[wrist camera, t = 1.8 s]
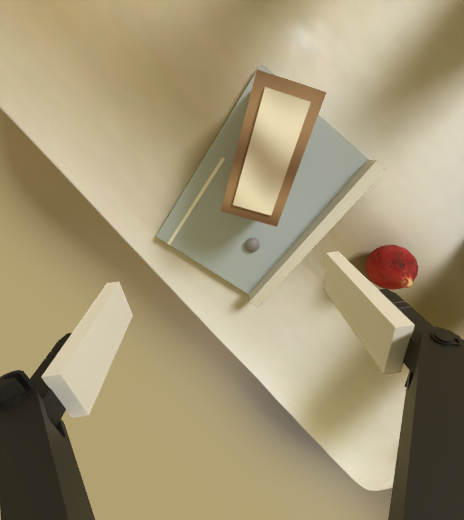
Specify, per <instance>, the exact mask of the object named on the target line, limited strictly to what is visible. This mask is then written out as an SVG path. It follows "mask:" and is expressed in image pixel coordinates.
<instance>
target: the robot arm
mask: <svg viewBox="0 0 464 520" xmlns="http://www.w3.org/2000/svg"><path fill="white" fill-rule="evenodd" d="M324 290H325V291H326V293H327V294H328V296H329V297H330V298H331V300H332V301H333V303H334V304H335V306H336V307H337V309H338V310H339V311H340V313H341V314H342V316H343V317H344V319H345V320H346V321H347V323H348V324H349V326H350V327H351V329H352V330H353V331H354V333H355V334H356V336H357V337H358V339H359V340H360V341H361V343H362V344H363V346H364V347H365V349H366V350H367V352H368V353H369V354H370V356H371V357H372V359H373V360H374V362H375V363H376V364H377V366H378V367H379V369H380V370H381V372H382V373H383V374H390V373H397V372H401V369H402V366H403V362H404V364H405V365H406V366H407V367H408V368H409V370H410V371H409V375H408V378H407V381H406V384H405V387H407V388H406V395H405V403H404V410H403V417H402V424H401V432H400V439H399V446H398V453H397V461H396V468H395V475H394V482H393V489H392V497H391V504H390V511H389V519H388V520H464V340H462V339H461V338H460V337H459V336H458V335H456V334H454V333H453V332H451V331H448V330H446V329H443V328H437V327H433V326H432V325H431V324H430V323H429V322H427V321H426V320H425V319H424V318H423V317H422V316H421V315H420V314H418V313H417V312H416V311H415V310H414V309H413V308H412V307H411V308H410V306H409V305H408V304H407V303H406V302H404V300H403V299H402V298H400V297H399V296H398V295H397V294H396V293H394V292H392V291H390V290H388V289H380V290H378V289H377V288H376V287H375V286H374V285H373V284H372V283H371V282H370V281H369V280H368V279H367V278H366V277H365V276H363V275H362V274H361V273H360V272H359V271H358V270H357V269H356V268H355V267H354V266H353V265H352V264H351V263H350V262H349V261H348V260H347V259H346V258H345V257H344V256H343V255H342V254H341V253H340V252H339V251H336V252H329V253H326V264H325V279H324ZM132 316H133V315H132V312H131V310H130V308H129V305H128V302H127V300H126V297H125V295H124V293H123V290H122V288H121V285H120V283H119V282H113V283H107V284H106V285H105V287H104V288H103V290H102V291H101V293H100V294H99V295H98V297H97V298H96V300H95V301H94V303H93V304H92V306H91V307H90V308H89V310H88V311H87V313H86V314H85V315H84V317H83V318H82V320H81V321H80V322H79V324H78V325H77V327H76V328H75V330H74V331H73V333H68V334H66V335H65V336H64V337H63V338H61V339H60V340H59V341H58V342H57V343H56V345H55V346H54V347H53V349H52V351H51V352H50V353H49V354H48V356H47V357H46V359H44V361H43V362H42V364H41V365H40V366H39V368H38V369H37V370H36V372H35V373H34V374H33V376H32V377H31V378H30V379H29V378H28V376H27V375H26V374H25V373H24V371H20V370H17V371H13V372H10V373H7V374H5V375H3V376H1V377H0V510H1V520H95V518H94V515H93V512H92V508H91V505H90V503H89V500H88V496H87V493H86V490H85V487H84V484H83V480H82V477H81V474H80V471H79V468H78V465H77V462H76V459H75V456H74V453H73V449H72V446H71V443H70V440H69V437H68V434H67V430H66V427H65V424H64V422H63V421H62V420H61V418H62V416H63V414H64V412H65V410H66V411H67V412H68V414H69V415H70V416H71V418H73V417H81V416H88V415H89V414H90V411H91V409H92V407H93V405H94V402H95V400H96V398H97V395H98V393H99V391H100V389H101V386H102V384H103V382H104V380H105V377H106V375H107V373H108V371H109V368H110V366H111V364H112V361H113V359H114V357H115V354H116V352H117V350H118V348H119V346H120V343H121V341H122V339H123V336H124V334H125V332H126V330H127V327H128V325H129V323H130V320H131V318H132Z"/></svg>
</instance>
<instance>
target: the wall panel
mask: <svg viewBox="0 0 464 520" xmlns="http://www.w3.org/2000/svg"><path fill="white" fill-rule="evenodd" d="M257 70H260V71H263V72H266V73H269V74H272V75H274V74H273V73H272V72H271V71H269V70H268V69H267V68H266V67H265V66H264V65H263V64H262V63H261V65H260V66H259V68H258V69H257ZM255 75H256V73H255V74H254V76H253V78H252V79H251V81H250V83H249V84H248V86H247V88H246V89H245V91H244V93H243V94H242V96H241V98H240V99H239V101H238V102H237V104H236V106H235V107H234V109H233V111H232V112H231V114H230V116H229V117H228V119H227V121H226V122H225V124H224V126H223V127H222V129H221V130H220V132H219V134H218V135H217V137H216V139H215V140H214V142H213V144H212V145H211V147H210V149H209V150H208V152H207V154H206V155H205V157H204V159H203V160H202V162H201V163H200V165H199V167H198V168H197V170H196V172H195V173H194V175H193V177H192V178H191V180H190V182H189V183H188V185H187V187H186V188H185V190H184V192H183V193H182V195H181V196H180V198H179V200H178V201H177V203H176V205H175V206H174V208H173V210H172V211H171V213H170V215H169V216H168V218H167V220H166V221H165V223H164V224H163V226H162V228H161V229H160V231H159V233H158V234H157V236H156V237H158V238H159V239H161V240H162V241H164V242H166V243H167V244H168V245H170V246H172V247H174V248H175V249H177V250H178V251H180V252H182V253H183V254H185V255H186V256H188V257H190V258H191V259H193V260H194V261H196V262H198V263H199V264H201V265H202V266H204V267H206V268H207V269H209V270H210V271H212V272H214V273H215V274H217V275H218V276H220V277H222V278H223V279H225V280H226V281H228V282H230V283H231V284H233V285H234V286H236V287H238V288H239V289H241V290H242V291H244V292H246V293H247V294H249V302H250V303H252V304H253V305H255V306H257V307H259V305H260V304H261V303H262V302H263V301H264V300H265V299H266V298H267V297H268V296H269V295H270V294H271V293H272V292H273V290H274V289H275V288H276V287H277V286H278V285H279V284H280V283H281V282H282V281H283V280H284V279H285V278H286V276H287V275H288V274H289V273H290V272H291V271H292V270H293V269H294V268H295V267H296V266H297V265H298V264H299V263H300V261H301V260H302V259H303V258H304V257H305V256H306V255H307V254H308V253H309V252H310V251H311V250H312V249H313V247H314V246H315V245H316V244H317V243H318V242H319V241H320V240H321V239H322V238H323V237H324V236H325V235H326V234H327V232H328V231H329V230H330V229H331V228H332V227H333V226H334V225H335V224H336V223H337V222H338V221H339V220H340V218H341V217H342V216H343V215H344V214H345V213H346V212H347V211H348V210H349V209H350V208H351V207H352V206H353V205H354V203H355V202H356V201H357V200H358V199H359V198H360V197H361V196H362V195H363V194H364V193H365V192H366V191H367V189H368V188H369V187H370V186H371V185H372V184H373V183H374V182H375V181H376V180H377V179H378V178H379V177H380V176H381V174H382V173H383V172H384V171H385V170H386V169H385V168H384V167H383V166H382V165H381V164H380V163H379V162H377V161H374V160H368V159H367V158H366V157H365V156H364V155H362V154H361V153H360V152H359V151H358V150H357V149H356V148H355V147H354V146H353V145H351V144H350V143H349V142H348V141H347V140H346V139H345V138H344V137H343V136H341V135H340V134H339V133H338V132H337V131H336V130H335V129H334V128H333V127H331V126H330V125H329V124H328V123H327V122H326V121H325V120H324V119H323V118H322V117H320V116H319V115H318V116H317V119H316V122H315V125H314V127H313V130H312V133H311V135H310V138H309V141H308V144H307V146H306V149H305V152H304V154H303V157H302V160H301V163H300V165H299V168H298V171H297V174H296V176H295V179H294V182H293V184H292V187H291V190H290V193H289V195H288V198H287V201H286V203H285V206H284V209H283V212H282V214H281V217H280V220H279V223H278V225H277V227H276V226H272V225H269V224H265V223H261V222H258V221H254V220H251V219H247V218H243V217H240V216H236V215H232V214H229V213H225V212H222V211H221V208H222V204H223V200H224V196H225V192H226V188H227V184H228V181H229V177H230V173H231V169H232V165H233V161H234V157H235V153H236V149H237V145H238V141H239V138H240V134H241V130H242V126H243V122H244V118H245V114H246V110H247V106H248V102H249V98H250V95H251V91H252V87H253V83H254V79H255Z"/></svg>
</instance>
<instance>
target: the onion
mask: <svg viewBox="0 0 464 520" xmlns="http://www.w3.org/2000/svg"><path fill="white" fill-rule="evenodd" d="M417 272H418V265H417V261H416V259H415V257H414V256H413V255H412V254H411V253H410V252H409V251H408V250H407V249H405V248H402V247H399V246H396V245H387V246H381V247H379V248H377V249H375V250H374V251H373V252H372V253H371V254H370V255H369V257H368V259H367V261H366V273H367V275H368V277H369V279H370V280H371V281H372V282H373V283H375V284H376V285H378V286H379V287H382V288H386V289H401V288H403V287H404V288H409V287H410V286H412V285H413V281H414V279H415V278H416V276H417Z"/></svg>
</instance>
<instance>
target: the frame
mask: <svg viewBox="0 0 464 520" xmlns="http://www.w3.org/2000/svg"><path fill="white" fill-rule="evenodd" d="M325 95H326V92H324V91H321V90H318V89H315V88H312V87H309V86H306V85H303V84H300V83H297V82H294V81H291V80H288V79H285V78H281V77H278V76H275V75H272V74H269V73H266V72H263V71H260V70H257V71H256V75H255V79H254V83H253V87H252V91H251V95H250V98H249V102H248V106H247V110H246V114H245V118H244V122H243V126H242V130H241V134H240V138H239V141H238V145H237V149H236V153H235V157H234V161H233V165H232V169H231V173H230V177H229V181H228V184H227V188H226V192H225V196H224V200H223V204H222V208H221V211H222V212H225V213H229V214H232V215H236V216H240V217H243V218H247V219H251V220H254V221H258V222H261V223H265V224H269V225H272V226H276V227H277V225H278V223H279V220H280V217H281V214H282V212H283V209H284V206H285V203H286V201H287V198H288V195H289V193H290V190H291V187H292V184H293V182H294V179H295V176H296V174H297V171H298V168H299V165H300V163H301V160H302V157H303V154H304V152H305V149H306V146H307V144H308V141H309V138H310V135H311V133H312V130H313V127H314V125H315V122H316V119H317V116H318V114H319V111H320V108H321V105H322V103H323V100H324V97H325Z"/></svg>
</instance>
